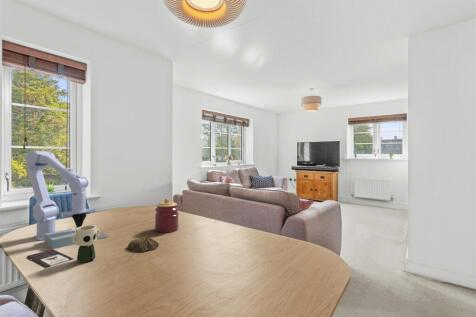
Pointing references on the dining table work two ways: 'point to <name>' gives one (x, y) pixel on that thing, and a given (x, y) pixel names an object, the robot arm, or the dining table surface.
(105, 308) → the dining table surface
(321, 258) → the dining table surface
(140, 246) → the mossy rock
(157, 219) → the canister
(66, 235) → the plate
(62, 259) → the chocolate bar
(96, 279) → the dining table surface
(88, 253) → the character mug
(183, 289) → the dining table surface
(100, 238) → the mat
